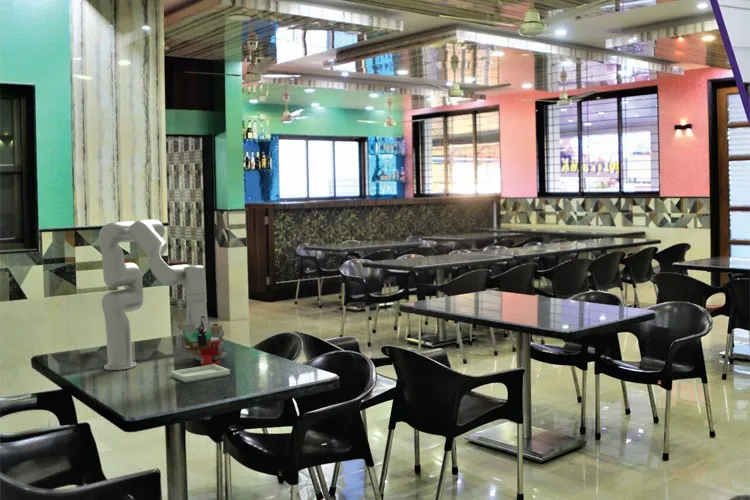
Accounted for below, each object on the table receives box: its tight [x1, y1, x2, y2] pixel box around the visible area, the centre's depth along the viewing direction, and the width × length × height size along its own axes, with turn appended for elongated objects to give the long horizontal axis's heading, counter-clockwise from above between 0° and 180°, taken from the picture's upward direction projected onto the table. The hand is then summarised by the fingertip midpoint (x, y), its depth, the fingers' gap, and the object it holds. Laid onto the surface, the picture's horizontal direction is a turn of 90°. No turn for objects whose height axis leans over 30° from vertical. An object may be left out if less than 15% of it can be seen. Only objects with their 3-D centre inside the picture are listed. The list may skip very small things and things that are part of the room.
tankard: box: [177, 323, 228, 362], centre depth 333 cm, size 20×13×15 cm, turn 80°
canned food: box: [200, 337, 221, 366], centre depth 317 cm, size 8×8×11 cm
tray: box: [170, 364, 231, 383], centre depth 299 cm, size 14×18×2 cm
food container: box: [180, 320, 214, 351], centre depth 297 cm, size 12×6×10 cm, turn 118°
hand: (199, 344), depth 298 cm, fingers closed on food container, 5 cm apart
